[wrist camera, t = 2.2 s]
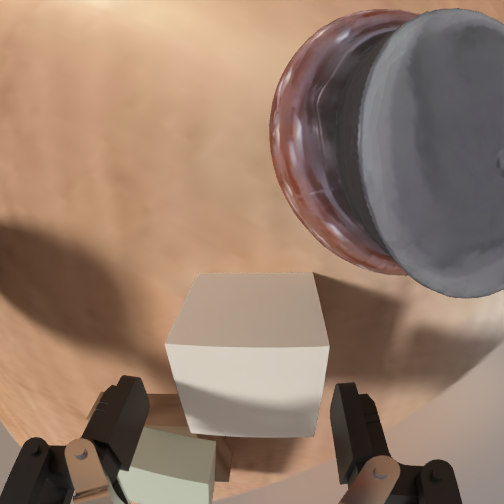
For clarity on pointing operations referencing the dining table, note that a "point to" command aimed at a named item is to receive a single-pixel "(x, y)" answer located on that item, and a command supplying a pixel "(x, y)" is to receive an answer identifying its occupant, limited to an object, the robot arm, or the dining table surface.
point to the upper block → (170, 469)
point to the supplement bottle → (399, 145)
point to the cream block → (250, 354)
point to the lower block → (181, 428)
